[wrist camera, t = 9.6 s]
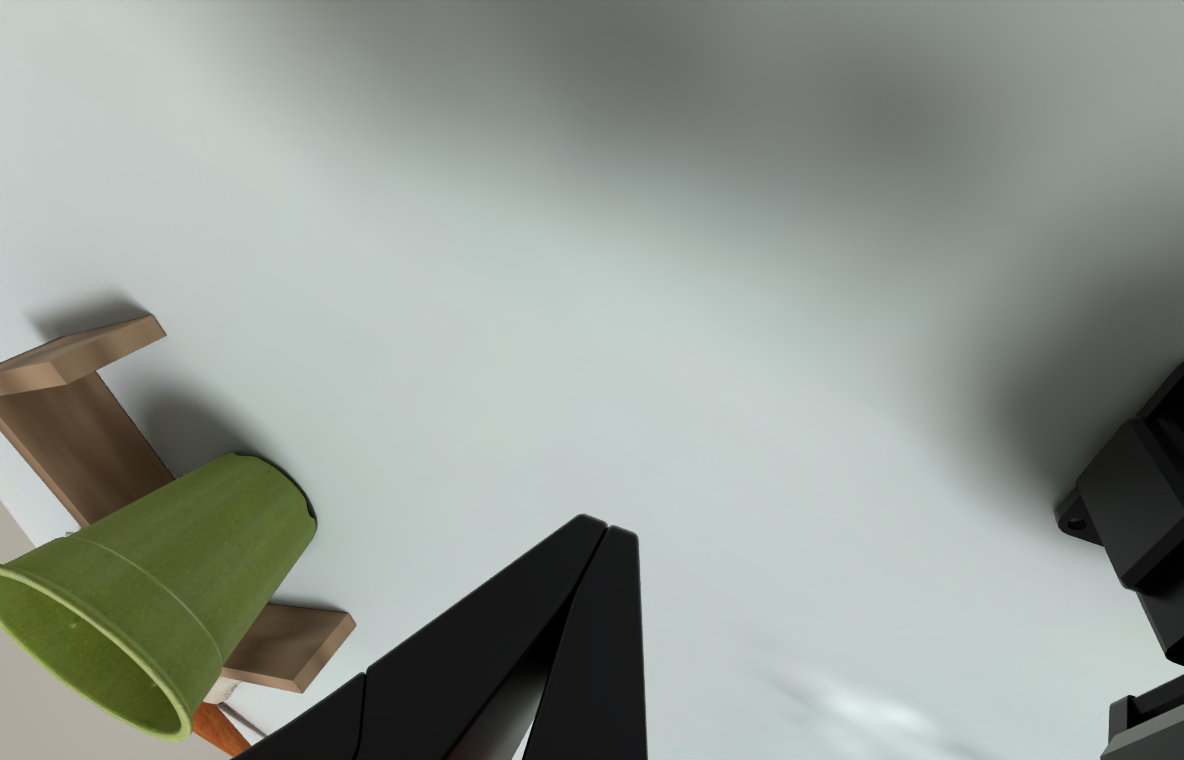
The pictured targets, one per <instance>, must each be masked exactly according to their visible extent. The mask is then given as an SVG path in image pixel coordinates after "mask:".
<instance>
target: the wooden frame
mask: <svg viewBox="0 0 1184 760" xmlns="http://www.w3.org/2000/svg"><path fill="white" fill-rule="evenodd" d="M165 336H166V335H165V333H164V332H163V330H162V329H161V327H160V326H159V324H158V323H157V321H156V319H155V318H154V316H153V315H151V316H147V317H142V318H138V319H134V320H130V321H126V322H122V323H118V324H114V325H109V326H105V327H101V328H97V329H93V330H89V331H85V332H81V333H76V334H72V335H68V336H64V337H60V338H57V339H55V340H52V341H50V342H48V343H45V344H43V345H41V346H38V347H36V348H34V349H31V350H29V351H26V352H24V353H22V354H19V355H17V356H15V357H12V358H10V359H8V360H5V361H3V362H1V363H0V431H1V432H2V433H3V435H4V436H5V437H6V438H7V439H8V441H9V442H10V443H11V444H12V445H13V446H14V448H15V449H16V450H17V451H18V452H19V454H20V455H21V456H22V457H23V458H24V459H25V461H26V462H27V463H28V464H29V465H30V467H31V468H32V469H33V470H34V471H35V473H36V474H37V475H38V476H39V477H40V478H41V480H42V481H43V482H44V483H45V484H46V486H47V487H48V488H49V489H50V490H51V491H52V493H53V494H54V495H55V496H56V497H57V499H58V500H59V501H60V502H61V503H62V504H63V506H64V507H65V508H66V509H67V510H68V512H69V513H70V514H71V515H72V516H73V518H74V519H75V520H76V521H77V522H78V523H79V525H80V526H81V527H82V528H85V527H87V526H89V525H91V524H93V523H95V522H97V521H98V520H100V519H102V518H104V517H106V516H108V515H110V514H112V513H113V512H115V511H117V510H119V509H121V508H123V507H125V506H127V505H129V504H131V503H133V502H135V501H136V500H138V499H140V498H142V497H144V496H146V495H148V494H150V493H151V492H153V491H155V490H157V489H159V488H161V487H163V486H165V485H167V484H168V483H170V482H172V481H174V479H173V477H172V476H171V474H170V473H169V472H168V470H167V469H166V468H165V466H164V465H163V464H162V462H161V461H160V459H159V458H158V457H157V455H156V454H155V453H154V451H153V450H152V448H151V447H150V446H149V444H148V443H147V442H146V440H145V439H144V437H143V436H142V435H141V433H140V432H139V431H138V429H137V428H136V427H135V425H134V424H133V422H132V421H131V420H130V418H129V417H128V416H127V414H126V413H125V411H124V410H123V409H122V407H121V406H120V405H119V403H118V402H117V401H116V399H115V398H114V396H113V395H112V394H111V392H110V391H109V390H108V388H107V387H106V385H105V384H104V383H103V381H102V380H101V379H100V377H99V376H98V375H97V373H96V372H95V371H96V370H98V369H100V368H102V367H104V366H106V365H108V364H110V363H112V362H114V361H116V360H118V359H120V358H122V357H124V356H126V355H128V354H130V353H132V352H134V351H136V350H138V349H140V348H143V347H145V346H147V345H149V344H151V343H153V342H155V341H157V340H159V339H161V338H163V337H165ZM355 627H356V624H355V623H354V621H353V620H352V618H351V617H350V615H349V614H348V613H342V612H333V611H324V610H316V609H307V608H298V607H289V606H281V605H272V604H266V605H265V607H264V608H263V610H262V611H261V612H260V614H259V615H258V617H257V618H256V619H255V621H254V622H253V624H252V625H251V626H250V628H249V629H248V631H247V632H246V634H245V635H244V636H243V638H242V639H241V641H240V642H239V643H238V645H237V646H236V648H235V649H234V651H233V652H232V654H231V655H230V656H229V658H228V659H227V661H226V662H225V664H224V665H223V666H222V671H221V675H220V677H224V678H229V679H234V680H239V681H244V682H248V683H253V684H258V685H263V686H268V687H272V688H277V689H282V690H287V691H292V692H296V693H301V694H303V692H304V691H305V690H306V689H307V687H308V686H309V685H310V684H311V682H312V681H313V680H314V679H315V677H316V676H317V675H318V674H319V672H320V671H321V670H322V669H323V667H324V666H325V665H326V663H327V662H328V661H329V660H330V658H331V657H332V656H333V655H334V653H335V652H336V651H337V650H338V648H339V647H340V646H341V645H342V643H343V642H344V641H345V640H346V638H347V637H348V636H349V635H350V633H351V632H352V631H353V630H354V628H355Z"/></svg>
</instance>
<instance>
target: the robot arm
mask: <svg viewBox="0 0 1184 760" xmlns="http://www.w3.org/2000/svg"><path fill="white" fill-rule="evenodd" d="M1076 485H1077V486H1076V487H1075V489H1074V490H1073V491H1072V492H1071V493H1070V495H1069V496H1068V497H1067V498H1066V499H1065V501H1064V502H1063V503H1062V504H1061V505H1060V506H1059V508H1058V509H1057V510H1056V512H1055V519H1056V522H1057V525H1058V527H1059V529H1060V530H1061V531H1062V532H1064V533H1066V534H1068V535H1071V536H1073V537H1076V538H1079V539H1082V540H1085V541H1088V542H1091V543H1094V544H1097V545H1100V546H1103V547H1104V548H1105V550H1106V552H1107V554H1108V557H1109V559H1110V561H1111V563H1112V566H1113V568H1114V570H1115V572H1116V574H1117V577H1118V579H1119V581H1120V583H1121V585H1122V586H1123V587H1124V588H1125V589H1128V590H1131V591H1134V592H1136V594H1137V596H1138V598H1139V600H1140V603H1141V605H1142V607H1143V609H1144V611H1145V613H1146V615H1147V618H1148V620H1149V622H1150V624H1151V626H1152V628H1153V630H1154V633H1155V635H1156V637H1157V639H1158V641H1159V643H1160V645H1161V648H1162V650H1163V652H1164V654H1165V656H1166V658H1167V659H1168V660H1170V661H1172V662H1174V663H1176V664H1179V665H1182V666H1184V362H1183V363H1182V364H1180V365H1179V366H1178V367H1177V368H1176V369H1175V370H1174V371H1173V373H1172V374H1171V375H1170V376H1169V377H1168V379H1167V380H1166V381H1165V382H1164V383H1163V384H1162V386H1161V387H1160V388H1159V389H1158V390H1157V392H1156V393H1155V394H1154V395H1153V396H1152V397H1151V399H1150V400H1149V401H1148V402H1147V403H1146V405H1145V406H1144V407H1143V408H1142V409H1141V411H1140V412H1139V413H1138V414H1137V415H1136V416H1135V417H1134V418H1131V419H1129V420H1127V421H1126V422H1125V423H1124V424H1123V425H1122V426H1121V427H1120V429H1119V430H1118V431H1117V432H1116V433H1115V435H1114V436H1113V437H1112V438H1111V439H1110V440H1109V442H1108V443H1107V444H1106V445H1105V446H1104V448H1103V449H1102V450H1101V451H1100V452H1099V454H1098V455H1097V456H1096V457H1095V458H1094V460H1093V461H1092V462H1091V463H1090V464H1089V466H1088V467H1087V468H1086V469H1085V470H1084V472H1083V473H1082V474H1081V475H1080V476H1079V478H1078V479H1077V480H1076ZM1073 518H1083V519H1081V520H1080V521H1075V522H1073V521H1069V520H1071V519H1073ZM534 717H535V719H534ZM533 719H534V722H533V725H532V728H531V732H530V735H529V738H528V741H527V745H526V748H525V751H524V754H523V757H522V760H648V751H647V727H646V703H645V679H644V655H643V631H642V607H641V583H640V559H639V539H638V536H637V534H635V533H634V532H631V531H628V530H626V529H623V528H621V527H618V526H615V525H611V526H610V527H608V524H607V523H606V522H605V521H602V520H600V519H597V518H594V517H592V516H589V515H587V514H579V515H577V516H576V517H574V518H573V519H572V520H570V521H569V522H567V523H566V524H565V525H563V526H562V527H561V528H559V529H558V530H556V531H555V532H554V533H552V534H551V535H549V536H548V537H547V538H545V539H544V540H543V541H541V542H540V543H538V544H537V545H536V546H534V547H533V548H532V549H530V550H529V551H527V552H526V553H525V554H523V555H522V556H521V557H519V558H518V559H516V560H515V561H514V562H512V563H511V564H510V565H508V566H507V567H505V568H504V569H503V570H501V571H500V572H499V573H497V574H496V575H494V576H493V577H492V578H490V579H489V580H487V581H486V582H485V583H483V584H482V585H481V586H479V587H478V588H476V589H475V590H474V591H472V592H471V593H470V594H468V595H467V596H465V597H464V598H463V599H461V600H460V601H459V602H457V603H456V604H454V605H453V606H452V607H450V608H449V609H448V610H446V611H445V612H443V613H442V614H441V615H439V616H438V617H437V618H435V619H434V620H432V621H431V622H430V623H428V624H427V625H425V626H424V627H423V628H421V629H420V630H419V631H417V632H416V633H414V634H413V635H412V636H410V637H409V638H408V639H406V640H405V641H403V642H402V643H401V644H399V645H398V646H397V647H395V648H394V649H392V650H391V651H390V652H388V653H387V654H386V655H384V656H383V657H381V658H380V659H379V660H377V661H376V662H375V663H373V664H372V665H370V666H369V667H368V668H367V671H366V674H365V673H364V672H361V673H359V674H357V675H356V676H355V677H353V678H352V679H351V680H349V681H348V682H347V683H345V684H344V685H342V686H341V687H340V688H338V689H337V690H336V691H334V692H333V693H331V694H330V695H329V696H327V697H326V698H324V699H323V700H321V701H320V702H318V703H317V704H315V705H314V706H313V707H311V708H310V709H308V710H307V711H305V712H304V713H302V714H301V715H299V716H298V717H297V718H295V719H294V720H292V721H291V722H289V723H288V724H286V725H285V726H283V727H282V728H280V729H278V730H277V731H275V732H274V733H272V734H270V735H269V736H267V737H266V738H264V739H262V740H261V741H259V742H257V743H256V744H254V745H253V746H251V747H249V748H248V749H246V750H245V751H243V752H241V753H240V754H238V755H236V756H235V757H233V758H232V759H230V760H511V759H512V758H513V756H514V754H515V752H516V750H517V748H518V747H519V745H520V743H521V741H522V739H523V737H524V735H525V734H526V732H527V730H528V728H529V726H530V724H531V723H532V721H533ZM1100 760H1184V674H1183V675H1181V676H1179V677H1177V678H1175V679H1173V680H1171V681H1169V682H1167V683H1164V684H1162V685H1160V686H1158V687H1156V688H1154V689H1152V690H1150V691H1148V692H1146V693H1144V694H1142V695H1140V696H1138V697H1135V696H1132V695H1128V696H1126V697H1124V698H1122V699H1120V700H1118V701H1116V702H1114V703H1112V704H1111V705H1110V711H1109V738H1108V746H1107V748H1106V749H1105V750H1104V752H1103V753H1102V755H1101V756H1100Z"/></svg>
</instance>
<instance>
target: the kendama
mask: <svg viewBox="0 0 1184 760" xmlns="http://www.w3.org/2000/svg"><path fill="white" fill-rule="evenodd" d="M192 720H193V732H195V733H196V734H198V735H199V736H201V737H202V738H204V739H206V740H207V741H209V742H210V743H212V744H213V745H215V746H216V747H218V748H220V749H221V750H223V751H224V752H226V753H227V754H229V755H231V756H232V757H235V756H236V755H238V754H240V753H241V752H243V751H245V750H246V749H248V748H249V747H251V745H250V744H249V743H248V741H247V740H246V739H245V738H244V737H243V736H242V735H241V733H240V732H239V731H238V730H237V729H236V728H235V727H234V725H233V724H232V723H231V722H230V721H229V720H228V719H227V717H226V716H225V715H224V714H223V713H222V712H221V711H220V709H219V708H218V707H217V706H216V705H215V704H211V703H206V702H202V703H201V704H200V706H199V708H198V709H197V711H196V712H195V714H194V715H193V717H192Z"/></svg>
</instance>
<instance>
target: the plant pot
mask: <svg viewBox="0 0 1184 760" xmlns="http://www.w3.org/2000/svg"><path fill="white" fill-rule="evenodd" d="M315 531H316V523H315V520H314V519H313V518H311V517H310V515H309V513H308V510H307V504H306V500H305V498H304V496H303V495H302V494H301V492H300V491H299V489H298V488H297V487H296V486H295V485H294V484H293V483H292V482H291V481H290V480H289V479H288V478H286V477H285V476H284V475H283V474H282V473H281V472H279V471H278V470H277V469H276V468H275V467H273V466H272V465H270V464H268V463H266V462H264V461H262V460H261V459H258V458H256V457H253V456H238V455H235V454H234V453H233V452H231V453H226V454H224V455H222V456H220V457H217V458H215V459H214V460H212V461H210V462H208V463H206V464H204V465H202V466H200V467H199V468H197V469H195V470H193V471H191V472H189V473H187V474H185V475H184V476H182V477H180V478H178V479H176V480H174V481H172V482H170V483H168V484H167V485H165V486H163V487H161V488H159V489H157V490H155V491H153V492H151V493H150V494H148V495H146V496H144V497H142V498H140V499H138V500H136V501H135V502H133V503H131V504H129V505H127V506H125V507H123V508H121V509H119V510H117V511H115V512H113V513H112V514H110V515H108V516H106V517H104V518H102V519H100V520H98V521H97V522H95V523H93V524H91V525H89V526H87V527H85V528H83V529H81V530H79V531H77V532H75V533H73V534H71V535H70V536H68V537H60V538H57V539H54V540H52V541H50V542H48V543H46V544H44V545H42V546H40V547H38V548H36V549H34V550H32V551H30V552H28V553H26V554H24V555H23V556H20V557H19V558H17V559H15V560H13V561H10V562H8V563H6V564H4V565H2V564H0V627H1V628H2V630H3V631H4V632H5V633H6V634H7V635H8V636H9V637H10V638H11V639H12V640H13V641H14V642H15V643H16V644H17V645H18V646H19V647H20V648H21V649H22V650H23V651H24V652H26V653H27V654H28V655H30V657H31V658H33V659H34V660H35V661H36V662H37V663H38V664H39V665H40V666H42V667H43V668H44V669H46V670H47V671H48V672H50V673H51V674H52V675H53V676H54V677H55V678H56V679H58V680H59V681H61V682H62V683H63V684H65V685H66V686H67V687H68V688H70V689H71V690H73V691H74V692H75V693H77V694H78V695H79V696H81V697H82V698H84V699H85V700H87V701H89V702H91V703H92V704H94V705H95V706H96V707H98V708H100V709H102V710H103V711H105V712H106V713H107V714H109V715H111V716H112V717H114V718H116V719H118V720H120V721H122V722H124V723H126V724H127V725H129V726H131V727H133V728H135V729H137V730H138V731H141V732H143V733H146V734H148V735H150V736H154V737H157V738H159V739H162V740H165V741H170V742H178V741H185V740H187V739H188V738H189V737H190V735H191V734H192V731H193V720H192V717H193V715H194V714H195V712H196V711H197V709H198V708H199V706H200V704H201V703H202V702H203V700H204V699H205V697H206V696H207V694H208V693H209V691H210V690H211V688H212V687H213V685H214V684H215V683H216V681H217V680H218V678H219V677H220V675H221V671H222V666H223V665H224V664H225V662H226V661H227V659H228V658H229V656H230V655H231V654H232V652H233V651H234V649H235V648H236V646H237V645H238V643H239V642H240V641H241V639H242V638H243V636H244V635H245V634H246V632H247V631H248V629H249V628H250V626H251V625H252V624H253V622H254V621H255V619H256V618H257V617H258V615H259V614H260V612H261V611H262V610H263V608H264V607H265V605H266V604H267V602H268V601H269V600H270V598H271V597H272V595H273V594H274V593H275V591H276V590H277V588H278V587H279V585H280V584H281V583H282V581H283V580H284V578H285V577H286V576H287V574H288V573H289V571H290V570H291V568H292V567H293V566H294V564H295V563H296V561H297V560H298V559H299V557H300V556H301V554H302V553H303V552H304V550H305V549H306V547H307V546H308V545H309V543H310V542H311V540H312V539H313V537H314V535H315Z"/></svg>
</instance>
